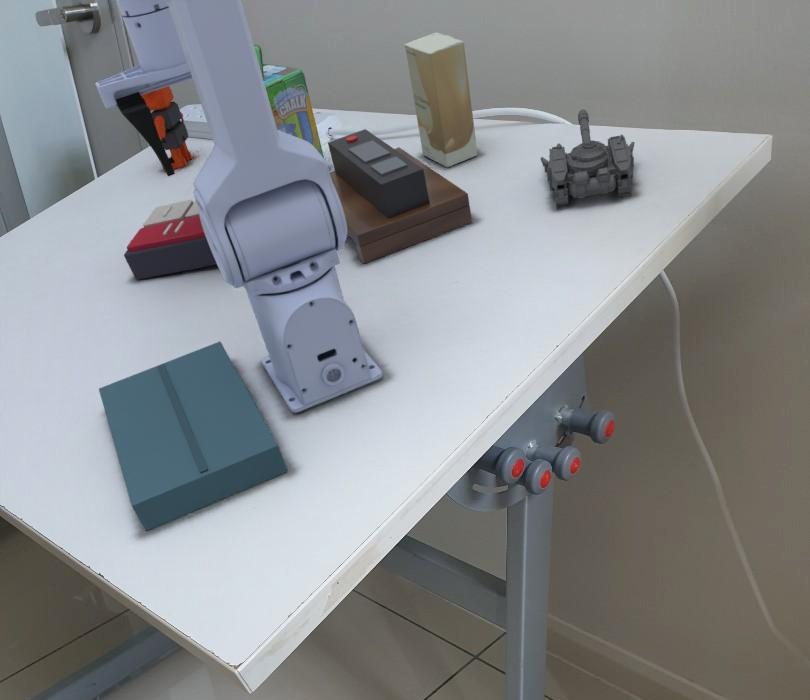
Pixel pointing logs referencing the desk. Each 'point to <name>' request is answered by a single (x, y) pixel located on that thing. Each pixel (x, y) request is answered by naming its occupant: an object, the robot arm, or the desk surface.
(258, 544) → the desk surface
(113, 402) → the teal grooved block
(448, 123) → the cosmetic box
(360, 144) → the remote
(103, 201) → the desk surface
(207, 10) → the robot arm
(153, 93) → the toy animal
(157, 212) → the calculator
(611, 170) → the tank toy
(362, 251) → the wooden keepsake box
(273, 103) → the chalk box
